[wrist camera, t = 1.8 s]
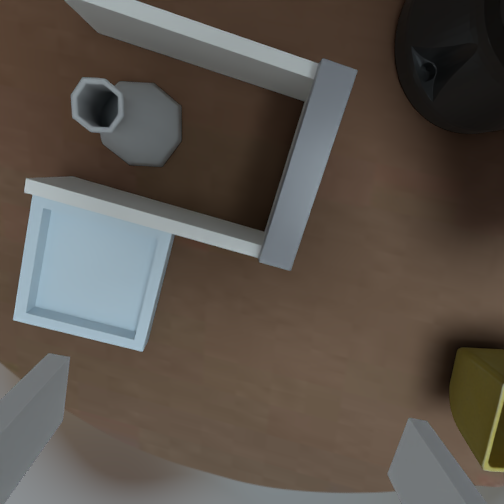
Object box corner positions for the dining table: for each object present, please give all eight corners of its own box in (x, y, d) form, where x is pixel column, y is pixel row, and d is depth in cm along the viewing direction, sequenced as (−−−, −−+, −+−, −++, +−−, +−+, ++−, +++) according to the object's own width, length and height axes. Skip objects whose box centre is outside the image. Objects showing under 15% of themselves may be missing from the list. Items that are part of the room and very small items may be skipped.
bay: (100, 19, 28) (46, -38, 20) (326, 95, 30) (357, 70, 22) (70, 186, 31) (13, 193, 23) (278, 246, 33) (290, 270, 25)
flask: (169, 180, 32) (138, 185, 22) (90, 150, 31) (22, 141, 21) (195, 100, 30) (174, 67, 20) (113, 66, 29) (51, 16, 20)
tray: (46, 191, 31) (32, 193, 29) (176, 228, 33) (172, 232, 31) (26, 310, 34) (13, 320, 32) (148, 341, 35) (142, 351, 33)
